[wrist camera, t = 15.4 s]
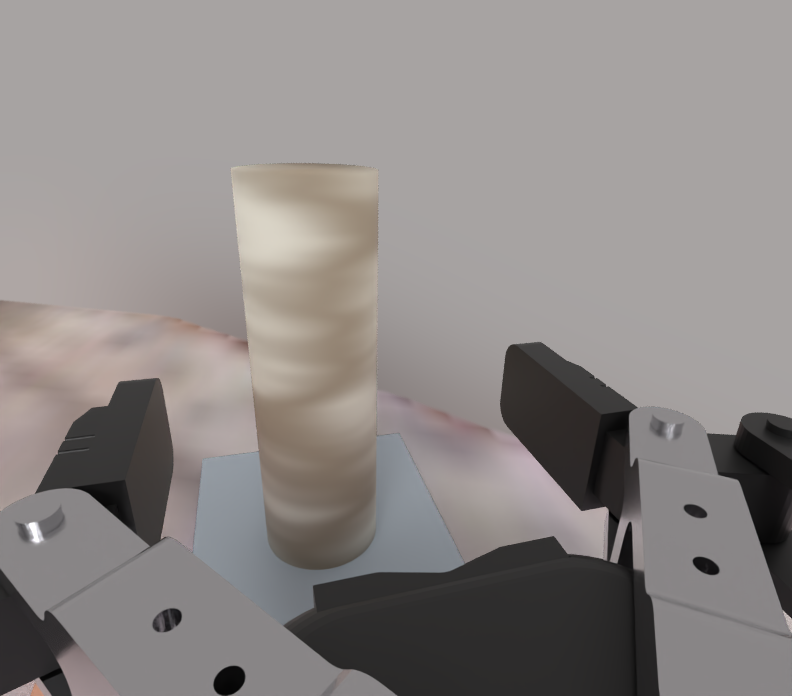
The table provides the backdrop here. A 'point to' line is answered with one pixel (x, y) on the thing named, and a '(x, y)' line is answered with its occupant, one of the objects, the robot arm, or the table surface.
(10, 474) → the table surface
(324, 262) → the beige tall cylinder
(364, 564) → the mat
